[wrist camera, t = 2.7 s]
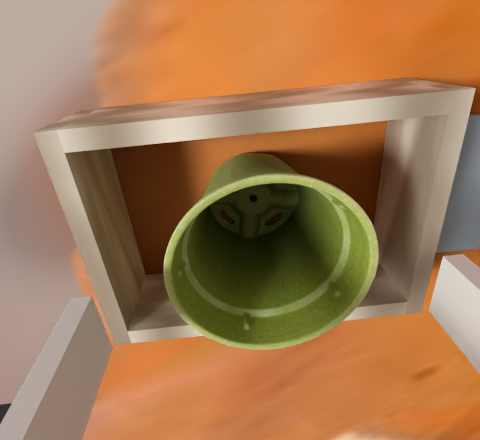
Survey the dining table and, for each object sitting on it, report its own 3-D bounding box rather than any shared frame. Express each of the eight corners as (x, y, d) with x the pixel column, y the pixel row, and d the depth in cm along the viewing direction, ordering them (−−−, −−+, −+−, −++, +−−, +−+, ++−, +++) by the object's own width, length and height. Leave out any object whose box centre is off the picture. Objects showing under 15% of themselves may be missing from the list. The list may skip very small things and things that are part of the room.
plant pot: (349, 197, 22) (417, 276, 15) (247, 275, 25) (260, 376, 17) (261, 90, 19) (291, 120, 11) (153, 194, 21) (116, 276, 14)
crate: (409, 77, 19) (475, 88, 14) (382, 260, 25) (421, 312, 20) (81, 110, 19) (32, 132, 14) (135, 286, 25) (115, 344, 20)
